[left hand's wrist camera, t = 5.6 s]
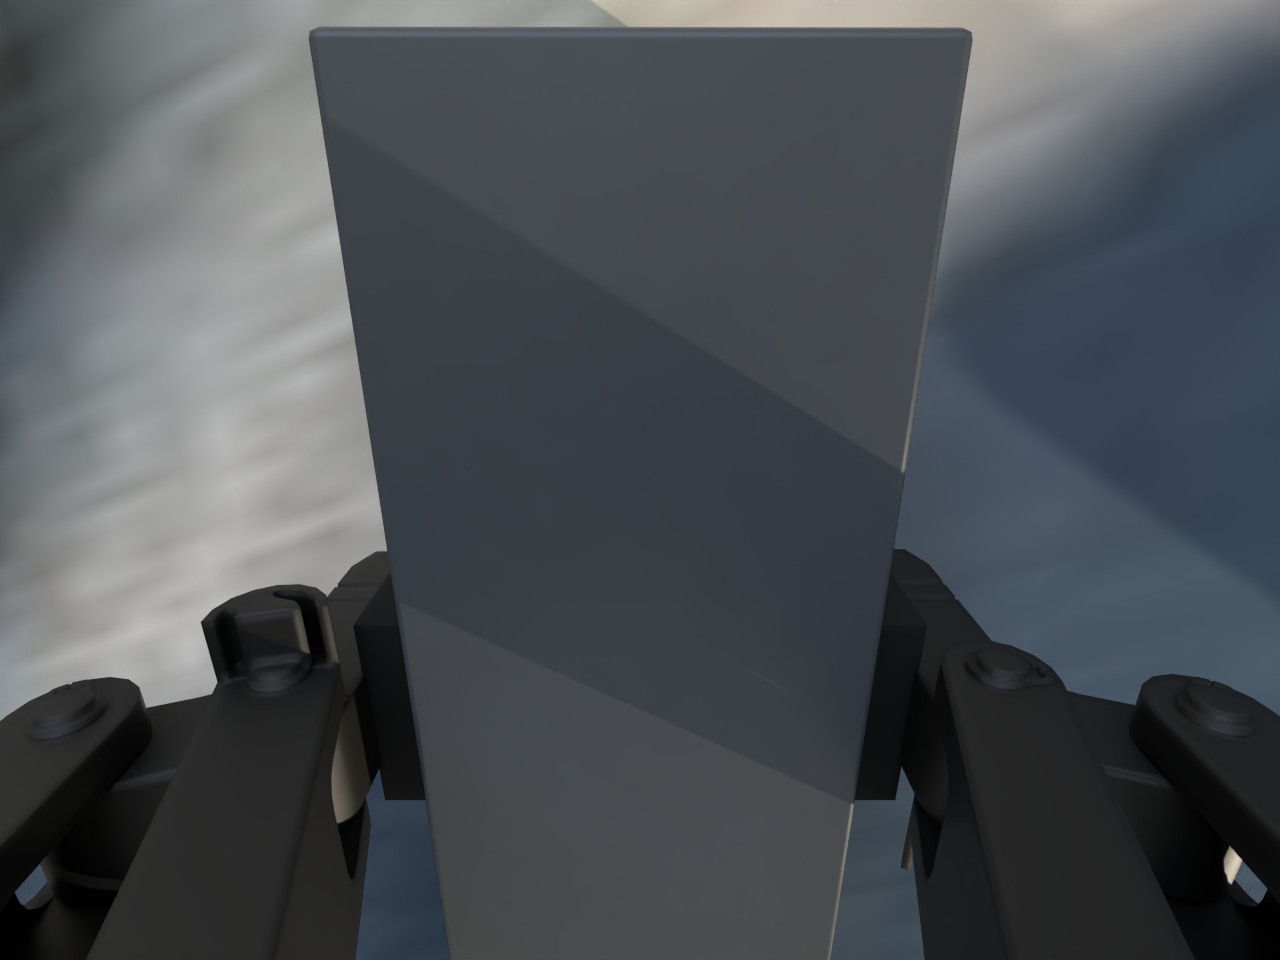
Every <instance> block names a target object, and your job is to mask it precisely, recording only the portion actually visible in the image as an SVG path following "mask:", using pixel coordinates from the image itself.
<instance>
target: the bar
mask: <svg viewBox="0 0 1280 960" xmlns="http://www.w3.org/2000/svg"><path fill="white" fill-rule="evenodd" d="M309 43H310V49H311V56H312V62H313V69H314V75H315V82H316V88H317V95H318V101H319V108H320V114H321V121H322V127H323V134H324V140H325V147H326V154H327V160H328V167H329V173H330V180H331V186H332V193H333V199H334V206H335V212H336V219H337V225H338V232H339V238H340V245H341V251H342V258H343V264H344V271H345V277H346V284H347V290H348V297H349V303H350V310H351V316H352V323H353V329H354V336H355V343H356V349H357V356H358V362H359V369H360V375H361V382H362V388H363V395H364V401H365V408H366V414H367V421H368V427H369V434H370V440H371V447H372V453H373V460H374V466H375V473H376V479H377V486H378V492H379V499H380V505H381V512H382V518H383V525H384V531H385V538H386V545H387V551H388V558H389V564H390V571H391V577H392V584H393V590H394V597H395V603H396V610H397V616H398V623H399V629H400V636H401V642H402V649H403V655H404V662H405V668H406V675H407V681H408V688H409V694H410V701H411V707H412V714H413V720H414V727H415V733H416V740H417V747H418V753H419V760H420V766H421V773H422V779H423V786H424V792H425V799H426V805H427V812H428V818H429V825H430V831H431V838H432V844H433V851H434V857H435V864H436V870H437V877H438V883H439V890H440V896H441V903H442V909H443V916H444V922H445V929H446V936H447V942H448V949H449V955H450V960H830V956H831V949H832V943H833V936H834V930H835V924H836V917H837V911H838V904H839V898H840V891H841V885H842V878H843V872H844V865H845V859H846V853H847V846H848V840H849V833H850V827H851V820H852V814H853V807H854V801H855V794H856V788H857V782H858V775H859V769H860V762H861V756H862V749H863V743H864V736H865V730H866V724H867V717H868V711H869V704H870V698H871V691H872V685H873V678H874V672H875V665H876V659H877V653H878V646H879V640H880V633H881V627H882V620H883V614H884V607H885V601H886V595H887V588H888V582H889V575H890V569H891V562H892V556H893V549H894V543H895V536H896V530H897V524H898V517H899V511H900V504H901V498H902V491H903V485H904V478H905V472H906V466H907V459H908V453H909V446H910V440H911V433H912V427H913V420H914V414H915V407H916V401H917V395H918V388H919V382H920V375H921V369H922V362H923V356H924V349H925V343H926V336H927V330H928V324H929V317H930V311H931V304H932V298H933V291H934V285H935V278H936V272H937V266H938V259H939V253H940V246H941V240H942V233H943V227H944V220H945V214H946V207H947V201H948V195H949V188H950V182H951V175H952V169H953V162H954V156H955V149H956V143H957V137H958V130H959V124H960V117H961V111H962V104H963V98H964V91H965V85H966V78H967V72H968V66H969V59H970V53H971V46H972V33H971V32H970V31H968V30H966V29H964V28H794V27H318V28H316V29H314V30H312V31H310V35H309Z"/></svg>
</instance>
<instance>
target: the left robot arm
mask: <svg viewBox="0 0 1280 960" xmlns="http://www.w3.org/2000/svg"><path fill="white" fill-rule="evenodd" d="M201 624H202V628H203V632H204V635H205V639H206V642H207V646H208V649H209V653H210V657H211V660H212V664H213V667H214V671H215V674H216V678H217V682H218V683H217V685H216V687H215V689H214V691H213V693H212V694H211V695H207V696H203V697H199V698H194V699H189V700H184V701H179V702H174V703H169V704H164V705H159V706H154V707H149V708H146V706H145V703H144V700H143V697H142V694H141V691H140V688H139V687H138V686H137V685H136V684H134V683H133V682H132V681H130V680H129V679H121V678H113V677H107V678H99V679H91V680H82V681H78V682H73V683H72V684H70V685H69V684H66V685H63V686H60V687H58V688H55V689H53V690H51V691H50V692H48V693H46V694H44V695H42V696H39V697H37V698H35V699H33V700H31V701H29V702H27V703H26V704H24V705H23V706H21V707H20V708H18V709H17V710H15V711H14V712H12V713H11V714H9V715H8V716H6V717H5V718H4V719H3V720H1V721H0V960H355V959H356V950H357V941H358V933H359V924H360V915H361V907H362V898H363V889H364V880H365V872H366V863H367V854H368V845H369V837H370V828H371V823H370V816H369V810H368V805H367V800H366V796H367V793H368V791H369V789H370V787H371V785H372V783H373V781H374V778H375V776H376V774H377V772H378V770H379V768H380V774H381V779H382V785H383V790H384V796H385V800H426V799H425V792H424V786H423V779H422V773H421V766H420V760H419V753H418V747H417V740H416V733H415V727H414V720H413V714H412V707H411V701H410V694H409V688H408V681H407V675H406V668H405V662H404V655H403V649H402V642H401V636H400V629H399V623H398V616H397V610H396V603H395V597H394V590H393V584H392V577H391V571H390V564H389V558H388V552H375V553H373V554H372V555H370V556H368V557H367V558H365V559H363V560H362V561H360V562H358V563H357V564H355V565H354V566H352V567H351V568H350V570H349V571H348V572H347V573H346V574H345V576H344V577H343V578H342V579H341V581H340V582H339V583H338V587H335V588H334V589H333V591H332V592H331V593H330V594H329V595H328V597H326V595H325V594H324V593H323V592H321V591H320V590H319V589H317V588H315V587H310V586H305V585H300V584H296V585H276V586H271V587H266V588H262V589H257V590H253V591H250V592H248V593H245V594H242V595H239V596H237V597H234V598H231V599H230V600H228V601H226V602H225V603H223V604H221V605H220V606H218V607H216V608H215V609H213V610H212V611H211V612H210V613H209V614H208V615H207V616H206V617H205V618H204V619H203V620H202V621H201ZM901 766H902V768H903V770H904V772H905V774H906V776H907V778H908V781H909V783H910V785H911V787H912V789H913V791H914V793H915V795H914V800H913V805H912V810H911V815H910V820H909V825H908V830H907V835H906V840H905V845H904V851H903V856H902V863H901V868H903V869H908V870H910V867H911V862H912V857H913V861H914V870H915V879H916V887H917V896H918V905H919V913H920V922H921V931H922V939H923V948H924V957H925V960H1280V716H1278V715H1277V714H1276V713H1274V712H1273V711H1271V710H1270V709H1268V708H1267V707H1265V706H1264V705H1262V704H1261V703H1259V702H1258V701H1256V700H1255V699H1253V698H1251V697H1249V696H1247V695H1245V694H1243V693H1240V692H1238V691H1236V690H1234V689H1232V688H1231V687H1229V686H1227V685H1224V684H1221V683H1219V682H1216V681H1213V682H1211V681H1210V680H1209V679H1204V678H1200V677H1191V676H1183V675H1175V674H1169V675H1161V676H1153V677H1151V678H1150V679H1149V680H1147V681H1146V682H1145V683H1143V684H1142V687H1141V690H1140V693H1139V696H1138V699H1137V702H1136V705H1132V704H1126V703H1121V702H1116V701H1111V700H1106V699H1101V698H1096V697H1091V696H1086V695H1081V694H1077V693H1073V692H1070V691H1067V690H1066V688H1065V686H1064V684H1063V682H1062V680H1061V679H1060V678H1059V677H1058V675H1057V674H1056V673H1055V671H1054V670H1053V669H1052V668H1051V667H1050V666H1048V665H1047V664H1045V663H1044V662H1043V661H1041V660H1040V659H1038V658H1037V657H1035V656H1034V655H1032V654H1029V653H1027V652H1025V651H1022V650H1020V649H1018V648H1016V647H1013V646H1010V645H1006V644H1001V643H997V642H993V641H991V640H990V638H989V637H988V636H987V635H986V634H985V632H984V631H983V630H982V629H981V627H980V626H979V625H978V624H977V623H976V621H975V620H974V619H973V618H972V616H971V615H970V614H969V613H968V612H967V610H966V609H965V608H964V607H963V605H962V604H961V603H960V602H959V601H958V600H955V596H954V594H953V593H952V592H951V591H950V590H949V588H948V587H947V586H946V585H943V581H942V580H941V579H940V577H939V576H938V575H937V574H936V572H935V571H934V570H933V569H932V568H931V566H930V565H929V564H928V563H926V562H924V561H923V560H921V559H919V558H918V557H916V556H914V555H913V554H911V553H909V552H908V551H906V550H905V549H893V556H892V562H891V569H890V575H889V582H888V588H887V595H886V601H885V607H884V614H883V620H882V627H881V633H880V640H879V646H878V653H877V659H876V665H875V672H874V678H873V685H872V691H871V698H870V704H869V711H868V717H867V724H866V730H865V736H864V743H863V749H862V756H861V762H860V769H859V775H858V782H857V788H856V794H855V800H895V798H896V793H897V787H898V782H899V776H900V771H901ZM1242 861H1243V862H1244V863H1245V864H1246V865H1247V866H1248V867H1249V868H1250V869H1251V871H1252V872H1253V873H1254V874H1255V875H1256V876H1257V877H1258V878H1259V879H1260V881H1261V882H1262V883H1263V884H1264V885H1265V886H1266V887H1267V888H1268V890H1267V892H1266V894H1265V896H1264V898H1263V900H1262V901H1261V902H1260V903H1257V902H1255V901H1254V900H1253V899H1252V898H1251V897H1250V896H1249V895H1248V894H1247V893H1246V892H1245V891H1244V890H1243V889H1242V888H1241V886H1240V885H1239V884H1238V883H1237V882H1236V881H1235V879H1234V878H1235V876H1236V874H1237V871H1238V869H1239V867H1240V865H1241V863H1242ZM39 864H40V866H41V868H42V870H43V872H44V874H45V877H46V879H47V881H48V882H47V883H46V884H45V885H44V886H43V888H42V889H41V890H40V891H39V892H38V893H37V895H36V896H35V897H33V898H32V899H31V900H30V901H29V902H27V903H26V904H25V905H24V906H23V905H22V904H21V903H19V901H18V898H17V896H16V894H15V891H16V890H17V889H18V888H19V886H20V885H21V884H22V883H23V882H24V881H25V880H26V879H27V877H28V876H29V875H30V874H31V873H32V872H33V871H34V870H35V869H36V867H37V866H38V865H39Z"/></svg>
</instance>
